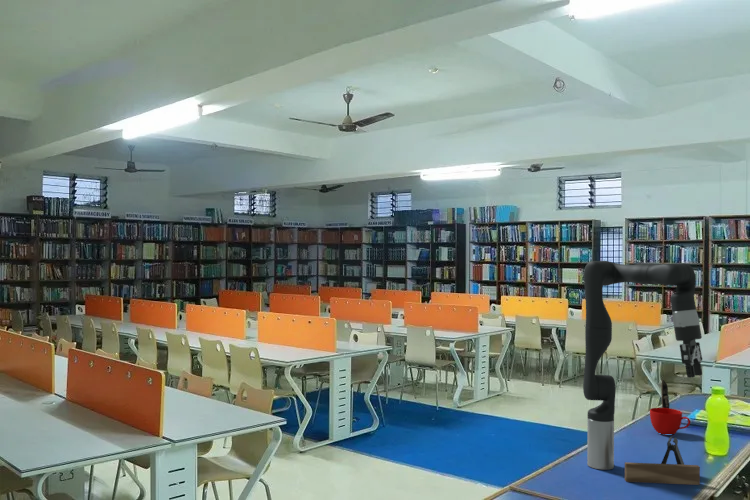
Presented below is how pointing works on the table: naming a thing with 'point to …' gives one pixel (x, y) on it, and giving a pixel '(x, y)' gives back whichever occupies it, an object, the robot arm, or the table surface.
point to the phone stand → (674, 449)
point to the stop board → (662, 473)
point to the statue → (664, 395)
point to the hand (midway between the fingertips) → (694, 376)
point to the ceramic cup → (667, 420)
